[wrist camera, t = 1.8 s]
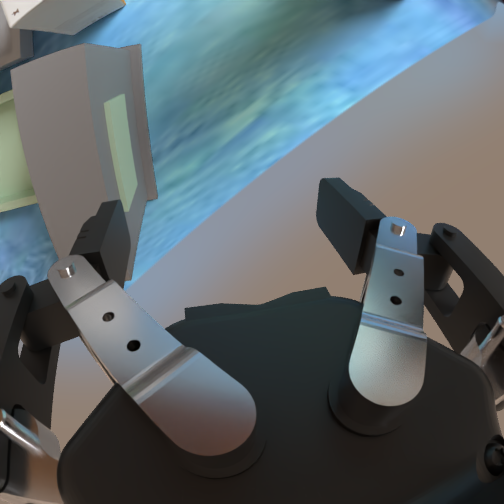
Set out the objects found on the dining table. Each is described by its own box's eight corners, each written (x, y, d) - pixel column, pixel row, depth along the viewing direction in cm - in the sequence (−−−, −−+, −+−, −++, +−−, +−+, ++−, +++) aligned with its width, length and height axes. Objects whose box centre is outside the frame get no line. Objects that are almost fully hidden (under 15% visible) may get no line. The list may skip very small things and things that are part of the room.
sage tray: (36, 81, 21) (23, 84, 19) (57, 188, 29) (48, 200, 27) (-32, 112, 20) (-46, 118, 17) (-8, 206, 27) (-19, 217, 25)
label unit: (141, 44, 23) (101, 30, 11) (157, 195, 33) (146, 283, 21) (75, 59, 22) (-3, 68, 10) (100, 204, 32) (63, 293, 20)
